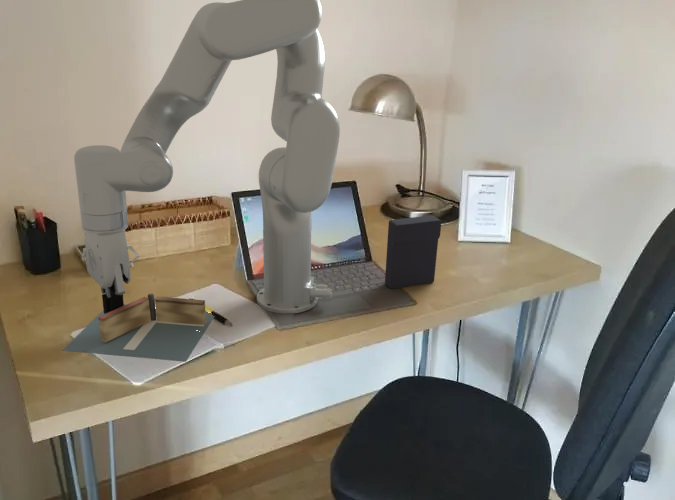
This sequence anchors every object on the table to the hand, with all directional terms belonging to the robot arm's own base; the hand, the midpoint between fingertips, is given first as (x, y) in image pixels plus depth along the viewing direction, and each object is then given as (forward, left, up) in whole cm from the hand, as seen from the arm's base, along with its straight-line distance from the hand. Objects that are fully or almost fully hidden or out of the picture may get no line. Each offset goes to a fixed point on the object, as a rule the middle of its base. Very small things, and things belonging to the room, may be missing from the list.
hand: (114, 313), depth 113 cm
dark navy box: (-54, -31, -4) cm, 62 cm away
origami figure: (+13, -27, -4) cm, 31 cm away
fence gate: (-2, +1, -3) cm, 4 cm away
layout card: (-5, -1, -4) cm, 6 cm away
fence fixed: (-10, -5, -3) cm, 11 cm away
